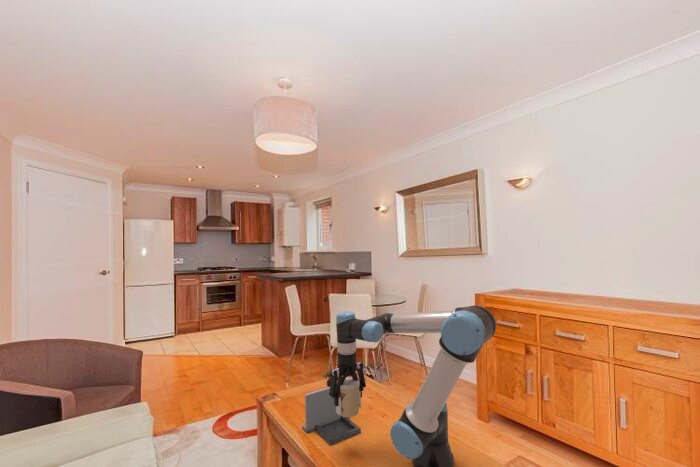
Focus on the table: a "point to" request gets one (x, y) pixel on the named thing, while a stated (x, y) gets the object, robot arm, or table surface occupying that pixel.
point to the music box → (329, 378)
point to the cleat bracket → (338, 431)
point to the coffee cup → (349, 397)
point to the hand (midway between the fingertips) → (348, 410)
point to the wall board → (319, 409)
